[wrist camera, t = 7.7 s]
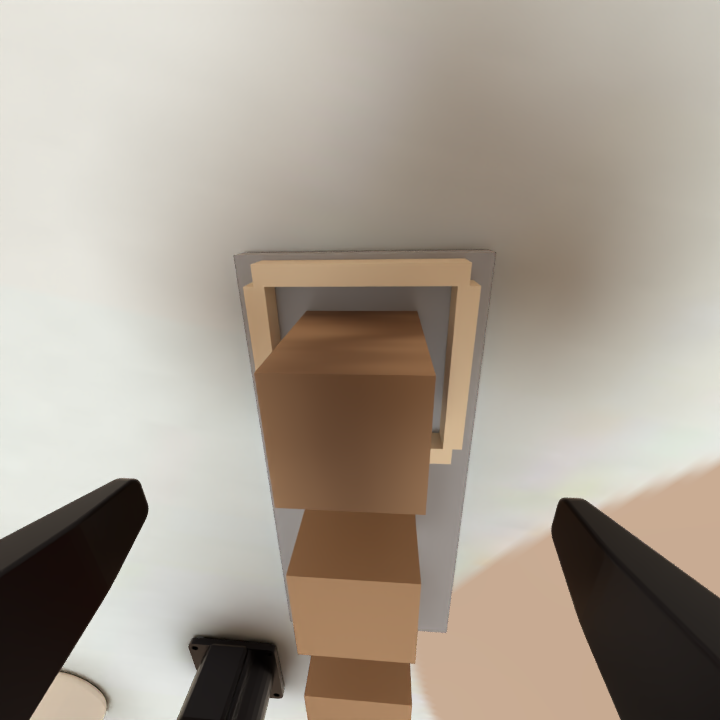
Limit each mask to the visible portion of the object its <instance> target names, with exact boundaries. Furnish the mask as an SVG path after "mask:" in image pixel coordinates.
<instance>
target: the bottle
mask: <svg viewBox="0 0 720 720" xmlns="http://www.w3.org/2000/svg"><path fill="white" fill-rule="evenodd" d="M106 707H107V704H106V700H105V698H104V696H103V694H102V693H101V692H100V691H99V690H98V689H97V688H96V687H95V686H93V685H92V684H91V683H89V682H87V681H85V680H83V679H81V678H79V677H77V676H74V675H71V674H68V673H63V672H59V673H58V674H57V676H56V678H55V679H54V681H53V683H52V684H51V686H50V687H49V689H48V691H47V692H46V694H45V695H44V697H43V699H42V700H41V702H40V704H39V705H38V707H37V708H36V710H35V712H34V713H33V715H32V717H31V718H30V720H103V718H104V716H105V714H106Z"/></svg>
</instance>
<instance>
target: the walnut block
mask: <svg viewBox="0 0 720 720" xmlns="http://www.w3.org/2000/svg"><path fill="white" fill-rule="evenodd" d="M254 376H255V383H256V389H257V396H258V402H259V409H260V415H261V422H262V428H263V435H264V441H265V447H266V454H267V460H268V467H269V473H270V480H271V486H272V493H273V499H274V506H275V508H286V509H307V510H329V511H350V512H371V513H393V514H414V515H426V504H427V490H428V477H429V463H430V450H431V436H432V423H433V409H434V395H435V382H436V374H435V371H434V367H433V364H432V360H431V357H430V354H429V350H428V347H427V343H426V340H425V336H424V333H423V329H422V326H421V322H420V319H419V316H418V312H417V311H306V312H305V313H304V314H303V316H302V317H301V318H300V319H299V320H298V321H297V323H296V324H295V325H294V326H293V327H292V329H291V330H290V331H289V332H288V333H287V335H286V336H285V337H284V338H283V339H282V340H281V342H280V343H279V344H278V345H277V346H276V348H275V349H274V350H273V351H272V352H271V353H270V355H269V356H268V357H267V358H266V359H265V361H264V362H263V363H262V364H261V365H260V366H259V368H258V369H257V370H256V371H255V372H254Z"/></svg>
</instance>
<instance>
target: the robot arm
mask: <svg viewBox="0 0 720 720" xmlns="http://www.w3.org/2000/svg"><path fill="white" fill-rule="evenodd" d="M147 515H148V503H147V500H146V497H145V494H144V492H143V489H142V486H141V483H140V482H139V481H138V480H137V479H130V478H119V479H115V480H113V481H111V482H109V483H108V484H106V485H104V486H102V487H100V488H98V489H96V490H94V491H92V492H90V493H88V494H86V495H85V496H83V497H81V498H79V499H77V500H75V501H73V502H71V503H69V504H67V505H65V506H63V507H61V508H60V509H58V510H56V511H54V512H52V513H50V514H48V515H46V516H44V517H42V518H40V519H38V520H37V521H35V522H33V523H31V524H29V525H27V526H25V527H23V528H21V529H19V530H17V531H15V532H14V533H12V534H10V535H8V536H6V537H4V538H2V539H0V720H30V718H31V717H32V715H33V713H34V712H35V710H36V708H37V707H38V705H39V704H40V702H41V700H42V699H43V697H44V695H45V694H46V692H47V691H48V689H49V687H50V686H51V684H52V683H53V681H54V679H55V678H56V676H57V674H58V673H59V671H60V670H61V668H62V666H63V665H64V663H65V661H66V660H67V658H68V657H69V655H70V653H71V652H72V650H73V649H74V647H75V645H76V644H77V642H78V640H79V639H80V637H81V636H82V634H83V632H84V631H85V629H86V627H87V626H88V624H89V623H90V621H91V619H92V618H93V616H94V615H95V613H96V611H97V610H98V608H99V606H100V605H101V603H102V602H103V600H104V598H105V596H106V595H107V593H108V591H109V590H110V588H111V586H112V584H113V582H114V580H115V579H116V577H117V575H118V573H119V571H120V569H121V567H122V565H123V563H124V561H125V559H126V557H127V555H128V553H129V551H130V549H131V547H132V545H133V543H134V541H135V539H136V537H137V535H138V534H139V532H140V530H141V528H142V526H143V524H144V522H145V520H146V518H147ZM551 532H552V538H553V542H554V545H555V548H556V551H557V554H558V557H559V561H560V564H561V567H562V570H563V573H564V576H565V579H566V582H567V586H568V589H569V592H570V595H571V598H572V601H573V604H574V607H575V610H576V613H577V616H578V619H579V622H580V624H581V627H582V629H583V632H584V635H585V637H586V639H587V641H588V644H589V646H590V649H591V651H592V654H593V656H594V658H595V661H596V663H597V665H598V668H599V670H600V672H601V675H602V677H603V679H604V682H605V684H606V686H607V689H608V691H609V693H610V696H611V698H612V700H613V703H614V705H615V708H616V710H617V712H618V715H619V717H620V719H621V720H720V598H719V597H718V596H716V595H715V594H714V593H712V592H711V591H709V590H708V589H707V588H705V587H704V586H703V585H701V584H700V583H699V582H697V581H696V580H694V579H693V578H692V577H690V576H689V575H688V574H686V573H685V572H683V571H682V570H681V569H679V568H678V567H677V566H675V565H674V564H672V563H671V562H670V561H668V560H667V559H666V558H664V557H663V556H662V555H660V554H659V553H657V552H656V551H655V550H653V549H652V548H651V547H649V546H648V545H646V544H645V543H644V542H642V541H641V540H639V539H638V538H637V537H635V536H634V535H632V534H631V533H630V532H629V531H627V530H626V529H625V528H623V527H622V526H620V525H619V524H618V523H616V522H615V521H614V520H612V519H611V518H609V517H608V516H607V515H605V514H604V513H603V512H601V511H600V510H599V509H597V508H596V507H594V506H593V505H592V504H590V503H589V502H587V501H586V500H584V499H581V498H561V499H560V500H559V502H558V505H557V509H556V512H555V516H554V520H553V523H552V529H551ZM188 647H189V650H190V653H191V656H192V659H193V661H194V664H195V667H196V670H197V672H196V675H195V677H194V679H193V682H192V684H191V687H190V689H189V691H188V694H187V696H186V699H185V701H184V703H183V706H182V708H181V710H180V713H179V715H178V718H177V720H264V718H265V714H266V710H267V706H268V702H269V698H277V699H279V698H282V697H283V693H284V685H283V680H282V675H281V669H280V664H279V659H278V654H277V648H276V646H274V645H272V644H268V643H255V642H243V641H230V640H217V639H205V638H193V639H192V640H191V642H190V644H189V646H188Z"/></svg>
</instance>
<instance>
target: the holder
mask: <svg viewBox="0 0 720 720" xmlns="http://www.w3.org/2000/svg"><path fill="white" fill-rule="evenodd" d="M495 256H496V252H493V251H491V250H432V251H346V252H261V253H241V254H237V255H234V261H235V268H236V274H237V281H238V287H239V293H240V300H241V306H242V313H243V319H244V325H245V332H246V338H247V345H248V351H249V357H250V364H251V370H252V377H253V383H254V389H255V396H256V402H257V409H258V415H259V421H260V428H261V434H262V441H263V447H264V453H265V460H266V466H267V473H268V479H269V485H270V492H271V498H272V505H273V511H274V517H275V524H276V530H277V537H278V543H279V549H280V556H281V562H282V569H283V575H284V581H285V588H286V594H287V601H288V607H289V613H290V620H291V621H292V622H293V626H294V632H295V639H296V645H297V652H298V654H301V655H311V660H310V666H309V672H308V677H307V683H306V689H305V694H304V698H305V704H306V711H307V717H308V720H411V711H412V697H411V676H410V663H412V664H415V659H416V645H417V632H418V631H428V632H441V633H446V632H447V624H448V616H449V609H450V601H451V594H452V586H453V578H454V571H455V563H456V555H457V548H458V540H459V532H460V525H461V517H462V509H463V502H464V494H465V486H466V479H467V471H468V463H469V455H470V448H471V440H472V432H473V425H474V417H475V409H476V402H477V394H478V386H479V379H480V371H481V363H482V356H483V348H484V340H485V333H486V325H487V317H488V310H489V302H490V294H491V287H492V279H493V271H494V264H495ZM306 311H417V312H418V316H419V319H420V322H421V326H422V329H423V333H424V336H425V340H426V343H427V347H428V350H429V354H430V357H431V360H432V364H433V367H434V371H435V374H436V382H435V395H434V409H433V423H432V436H431V450H430V463H429V477H428V490H427V504H426V515H414V514H393V513H371V512H350V511H329V510H307V509H286V508H275V506H274V499H273V493H272V486H271V480H270V473H269V467H268V460H267V454H266V447H265V441H264V435H263V428H262V422H261V415H260V409H259V402H258V396H257V389H256V383H255V376H254V372H255V371H256V370H257V369H258V368H259V366H260V365H261V364H262V363H263V362H264V361H265V359H266V358H267V357H268V356H269V355H270V353H271V352H272V351H273V350H274V349H275V348H276V346H277V345H278V344H279V343H280V342H281V340H282V339H283V338H284V337H285V336H286V335H287V333H288V332H289V331H290V330H291V329H292V327H293V326H294V325H295V324H296V323H297V321H298V320H299V319H300V318H301V317H302V316H303V314H304V313H305V312H306Z"/></svg>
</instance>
